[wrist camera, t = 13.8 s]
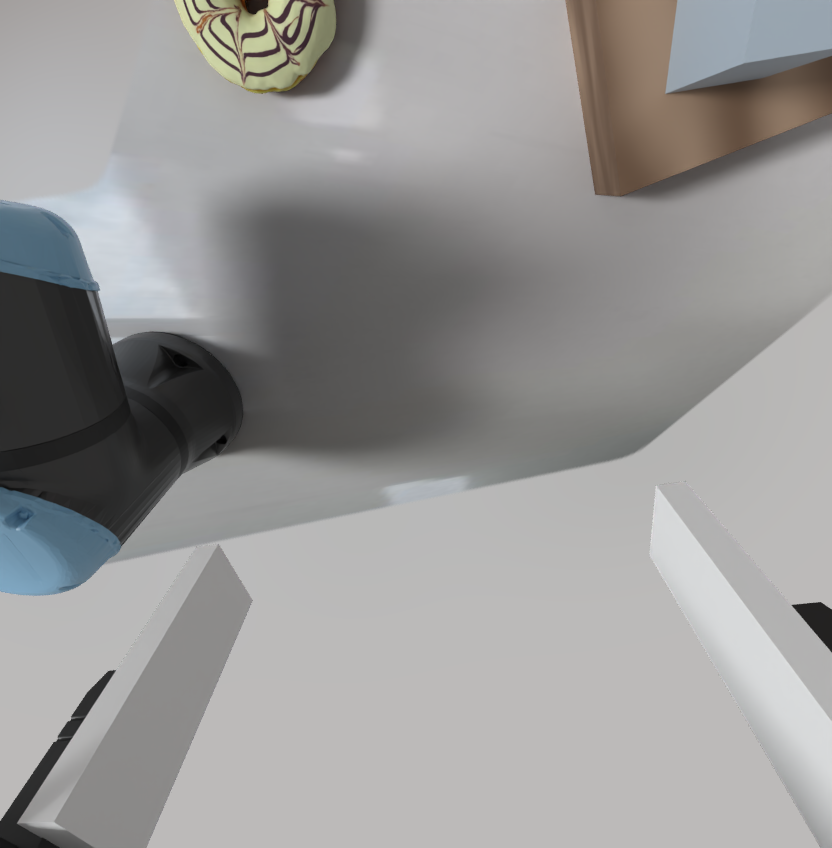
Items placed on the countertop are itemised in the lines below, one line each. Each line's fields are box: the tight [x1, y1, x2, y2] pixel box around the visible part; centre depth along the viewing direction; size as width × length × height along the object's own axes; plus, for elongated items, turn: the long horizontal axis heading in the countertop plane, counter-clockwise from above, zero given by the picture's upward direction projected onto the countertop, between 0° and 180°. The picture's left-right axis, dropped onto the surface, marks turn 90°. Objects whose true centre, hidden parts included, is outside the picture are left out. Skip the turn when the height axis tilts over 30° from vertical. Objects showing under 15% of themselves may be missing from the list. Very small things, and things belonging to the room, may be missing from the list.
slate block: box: [665, 0, 832, 94], centre depth 22 cm, size 6×6×8 cm
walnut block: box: [565, 0, 832, 196], centre depth 29 cm, size 14×14×6 cm
